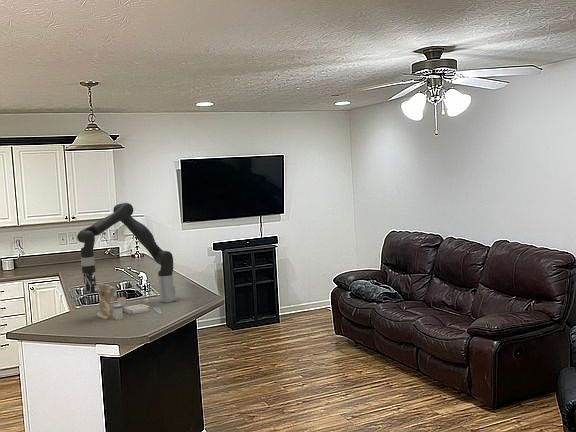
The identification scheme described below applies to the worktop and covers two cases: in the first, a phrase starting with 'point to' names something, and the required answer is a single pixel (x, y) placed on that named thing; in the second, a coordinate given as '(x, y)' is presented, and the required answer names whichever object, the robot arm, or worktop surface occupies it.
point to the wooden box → (106, 300)
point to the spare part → (122, 302)
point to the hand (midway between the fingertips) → (90, 292)
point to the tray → (136, 309)
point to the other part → (117, 312)
